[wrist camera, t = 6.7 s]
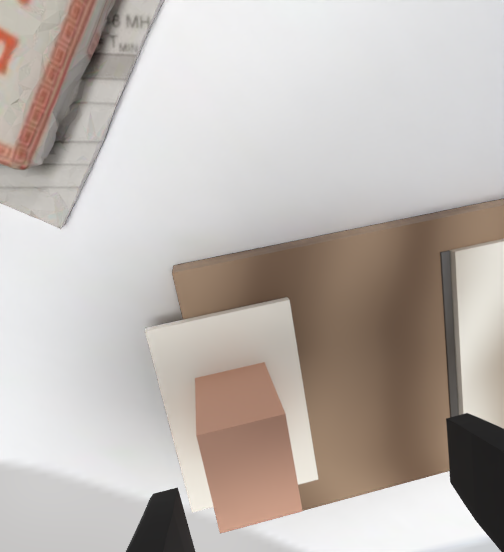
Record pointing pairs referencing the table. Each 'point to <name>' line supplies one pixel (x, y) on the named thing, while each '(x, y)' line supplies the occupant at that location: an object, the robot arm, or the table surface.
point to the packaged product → (61, 93)
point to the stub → (237, 411)
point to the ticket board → (379, 337)
